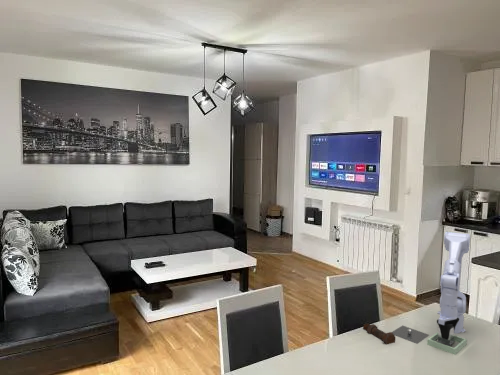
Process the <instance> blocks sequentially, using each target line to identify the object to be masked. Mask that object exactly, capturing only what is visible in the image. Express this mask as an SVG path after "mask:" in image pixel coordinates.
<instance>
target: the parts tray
mask: <svg viewBox="0 0 500 375" xmlns="http://www.w3.org/2000/svg"><path fill="white" fill-rule="evenodd" d="M426 342H427V346H430V347H433V348H436V349H439V350H442V351H444V352H447V353H449V354H452V355H456V354H457V353H459V351H461V350H462V349H463V348H464V347H466V346H467V342H468V340H467V338H464V337H461V336H459V335H455V334H454V342H456V343H458V344H456V345H455V347H452V346H451V345H450V346H448V345H445V344H442V343H439V342H438V331H437V332H436V333H433V335H432V336H430V337H429V338H427V340H426Z"/></svg>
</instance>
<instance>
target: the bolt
mask: <svg viewBox="0 0 500 375" xmlns="http://www.w3.org/2000/svg"><path fill="white" fill-rule="evenodd" d="M362 329H363V330H365V331H366V332H367V333H369V334H370V335H373V336H375V337H376V338H379V339H380V340H382V341H383V343H384V344H386V345H390V344H393V343H395V342H396V336H395V335H394V334H393V333H392V332H393V331H389V332H385V331H382V330H381V329H379V328H378V326H377V325H376V324H370V323H367V322H366V323H364V324H363V327H362Z"/></svg>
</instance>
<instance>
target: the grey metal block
mask: <svg viewBox="0 0 500 375" xmlns="http://www.w3.org/2000/svg"><path fill="white" fill-rule="evenodd" d="M437 332H438V339H437V342H439V343H441V344H444V345H447V346H450V347H451V346H452V345H453V344H454V343H455V341H454V335H455V333H454V327H451V329H450V333H449V337H448V339H447V340H446V339H443V338H442V336H441V332H440V328H439V326H438V327H437Z"/></svg>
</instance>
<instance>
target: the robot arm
mask: <svg viewBox="0 0 500 375" xmlns="http://www.w3.org/2000/svg"><path fill="white" fill-rule="evenodd" d="M443 236H444V237H443V244H444V248H445V251H447V252H448V259H447V260H445V262H444V265H443V266H444V267H443V272H442V274H441V275H440V279H439V280H440V282H439V285H440V294H441V295H440V297H439V308H440V310H439V311H437V315H439V318H438V319H437V320H436V325H438V327H439V328H440V332H441V336H442V338H443V339H446V340H447V339H448V337H449V333H450V329H451V327H454V334H460V333H465V332H466V329H465V328H464V322H465V321H464V318H465V315H464V314H466V312H467V311H466V310H467V297H466V294H465V293H463V292H462V291H461V290H460V289H461V288H460V287H461V276H462V274H461V273H462V265H463V264H462V261H463V257H464V254H467V253H469V251H470V246H471V245H470V243H471V235H470V233H463V232H462V233H461V232H453V231H452V232H451V231H445V232H444V235H443Z"/></svg>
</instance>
